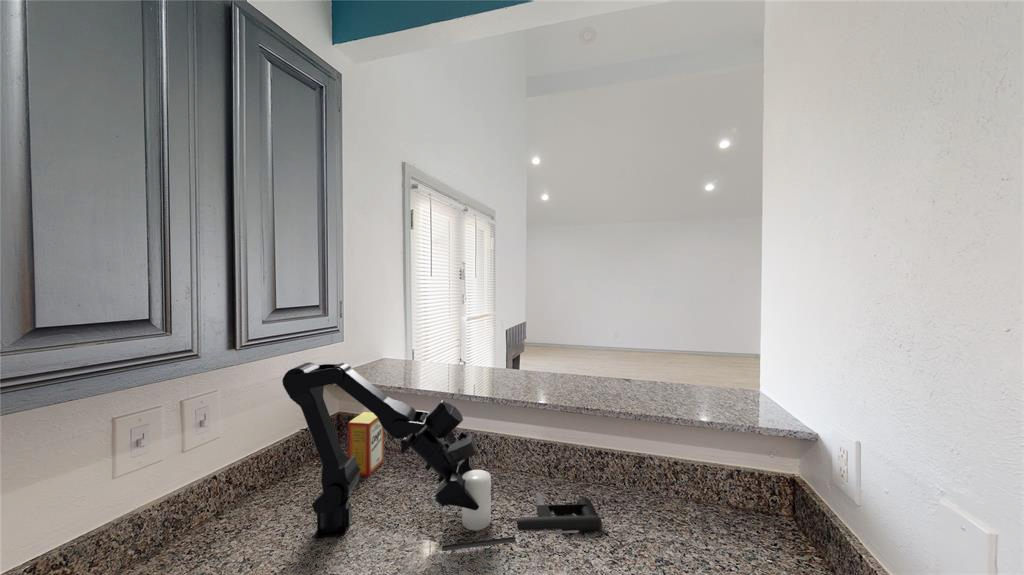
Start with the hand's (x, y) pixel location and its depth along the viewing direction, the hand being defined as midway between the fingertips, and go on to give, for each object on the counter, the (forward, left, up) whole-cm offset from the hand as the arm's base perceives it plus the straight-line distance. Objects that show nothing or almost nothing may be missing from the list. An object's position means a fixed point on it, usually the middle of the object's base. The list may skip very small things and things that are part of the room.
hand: (478, 496), depth 88 cm
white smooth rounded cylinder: (-1, 0, -6) cm, 6 cm away
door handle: (+19, +1, -8) cm, 21 cm away
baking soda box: (-32, +33, -7) cm, 46 cm away
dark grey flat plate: (-1, -1, -7) cm, 7 cm away
